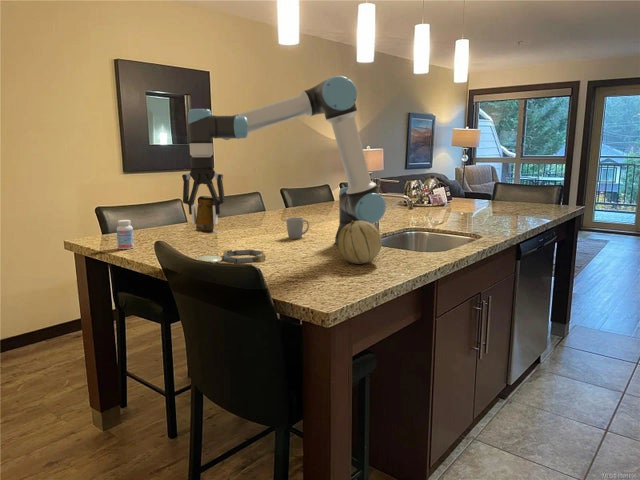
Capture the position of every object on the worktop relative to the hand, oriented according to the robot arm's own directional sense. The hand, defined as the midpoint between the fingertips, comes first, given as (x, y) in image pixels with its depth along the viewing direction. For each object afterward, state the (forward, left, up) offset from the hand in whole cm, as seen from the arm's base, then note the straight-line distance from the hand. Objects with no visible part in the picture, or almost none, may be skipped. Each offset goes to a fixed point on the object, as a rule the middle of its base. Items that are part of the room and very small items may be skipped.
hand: (205, 223), depth 165 cm
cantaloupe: (-47, -25, -13) cm, 55 cm away
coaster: (0, 0, -13) cm, 13 cm away
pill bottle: (+44, +2, -13) cm, 46 cm away
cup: (-1, -52, -13) cm, 54 cm away
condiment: (0, 0, -3) cm, 3 cm away
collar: (-8, -10, -13) cm, 18 cm away
